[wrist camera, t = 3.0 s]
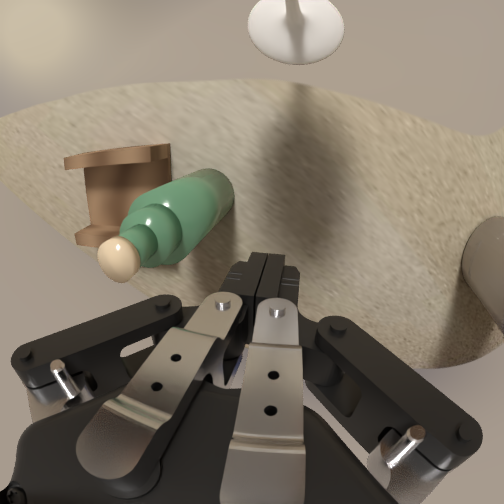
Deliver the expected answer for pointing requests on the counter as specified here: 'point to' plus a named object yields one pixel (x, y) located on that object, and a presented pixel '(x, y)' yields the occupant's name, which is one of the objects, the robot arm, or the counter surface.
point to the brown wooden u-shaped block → (117, 185)
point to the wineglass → (296, 30)
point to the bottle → (167, 224)
